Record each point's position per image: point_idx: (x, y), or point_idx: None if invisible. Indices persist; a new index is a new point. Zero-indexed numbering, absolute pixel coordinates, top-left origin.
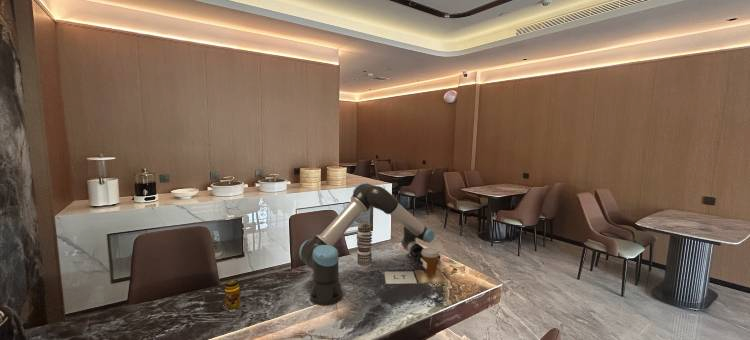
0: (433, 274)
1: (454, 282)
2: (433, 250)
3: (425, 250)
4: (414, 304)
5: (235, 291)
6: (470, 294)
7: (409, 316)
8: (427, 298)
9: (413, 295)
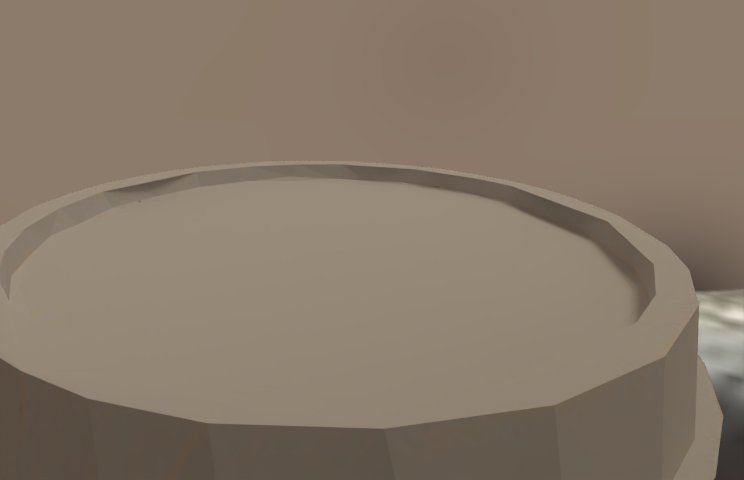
0: None
1: None
2: (151, 245)
3: (468, 321)
4: (711, 363)
5: None
6: None
7: (741, 312)
8: None
9: (725, 442)
